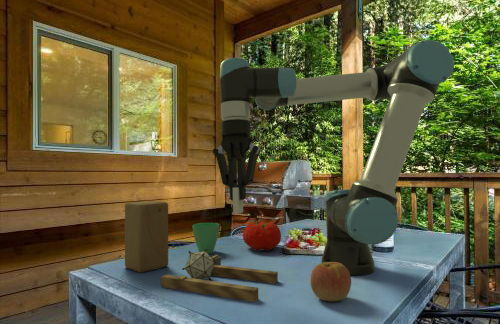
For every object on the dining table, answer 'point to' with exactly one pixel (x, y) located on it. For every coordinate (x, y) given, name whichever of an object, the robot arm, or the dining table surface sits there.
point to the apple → (330, 281)
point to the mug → (206, 236)
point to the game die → (199, 265)
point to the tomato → (262, 236)
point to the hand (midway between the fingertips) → (238, 212)
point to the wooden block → (146, 235)
